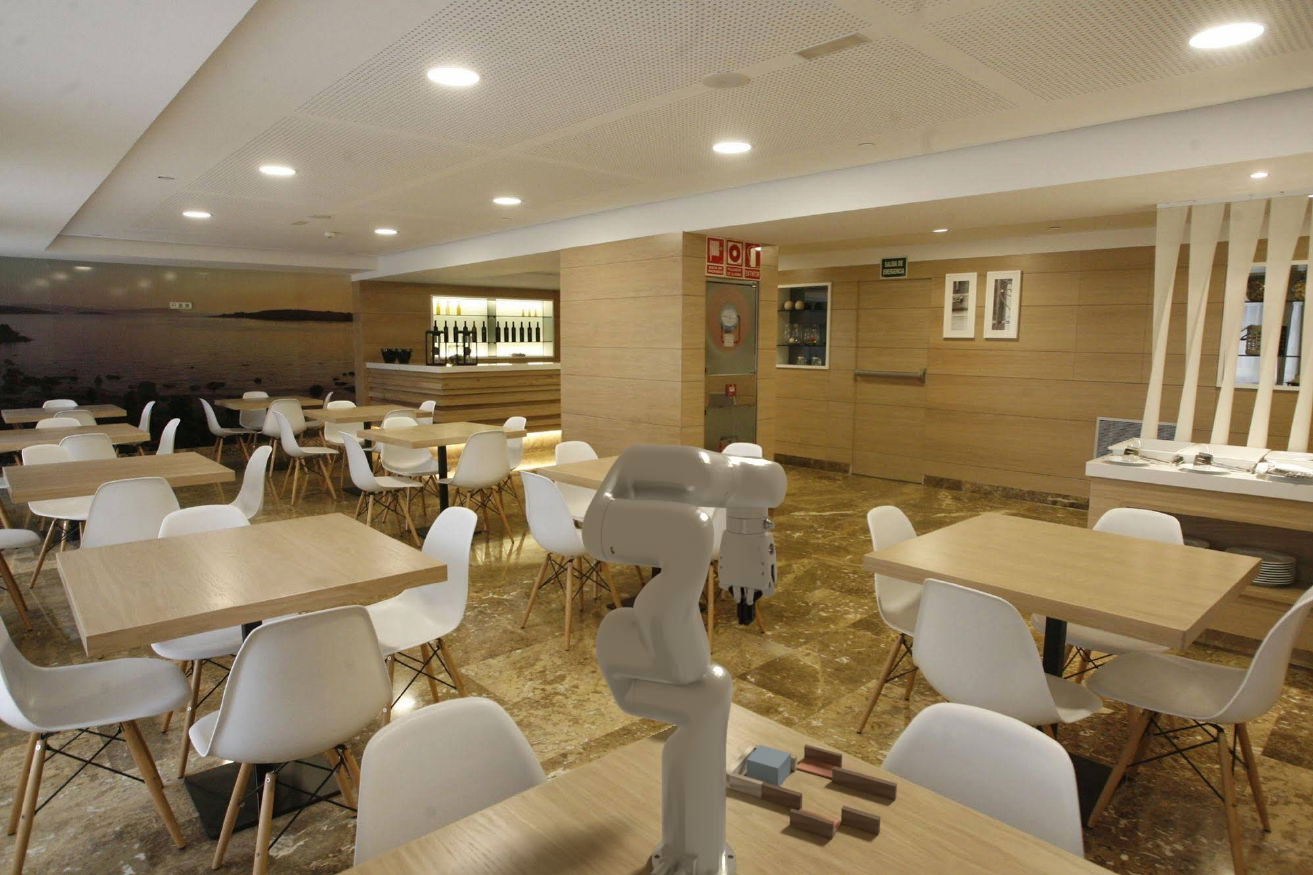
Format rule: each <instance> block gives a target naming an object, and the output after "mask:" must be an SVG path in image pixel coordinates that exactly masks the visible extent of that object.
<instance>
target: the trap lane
mask: <svg viewBox="0 0 1313 875" xmlns="http://www.w3.org/2000/svg"><path fill="white" fill-rule="evenodd" d="M759 746H760V745H759V744H754V743H751V744H750V745H749V746H748V747H747V748H746V749H745V751H744V752H743V753H742V754H740V756H739V757H738V758H737V759H736V760H735V761H734V762H733V764H732V765H730V766H729V768H728V769H726V789H731V790H733V791H737V792H740V793H744V794H747V795H750V796H752V797H756V798H759V799H763V800H766V801H769V802H772V803H774V804H778V805H781V806H785V807H788V808H791V809H790V811H789V826H790V827H793V828H796V829H799V830H802V831H806V832H808V833H812V834H815V835H819V836H821V837H825V838H827V839H831V840H832V839H833V838H834V836H835V835H836V833H837V832H838V830H839V828H840V826H841V824H843V825H847V826H848V827H852V828H855V829H859V830H861V831H862V830H863V831H865V832H868V833H872V834H876V835H880V832H881V816H879V815H877V814H876V815H875V814H873V813H869V812H867V811H863V810H859V809H856V808H853V807H849V806H845V805H843V806H842V807H841V811H840V812H841V813H840V814H841V816H840V818H841V820H838V819H835V818H831V817H828V816H825V815H823V814H822V815H821V814H818V813H816V812H812V811H809V810H806V809H802V808H803V793H802V792H799V791H796V790H793V789H789V788H786V787H783V786H776V785H773V784H770V783H766V782H763V781H760V780H756V779H753V778H750V777H747V775H746V776H745V775H743V774H744V772H746V771H747V759H748V758H749V757H750V755H751V754H752V753H753V752H754V751H755V750H756V749H757V748H758V747H759ZM803 750H804V751H803V752H804V755H803V759H801V761H800V762H799V764H798V755H795V754H791V771H792V772H796V771H797V770H799V771H803V772H807V773H811V774H814V775H818V776H821V777H824V778H827V779H832V780H831V781H832V783H834V784H838V785H840V786H841V785H842V786H845V787H848V788H851V789H855V790H859V791H863V792H866V793H868V794H872V795H876V796H879V797H883V798H886V799H889V800H892V801H893V800H894V801H896V799H897V792H898V791H897V790H898V788H897V787H898V784H897V783H896V782H892V781H889V780H886V779H883V778H879V777H875V776H871V775H867V774H863V773H861V772H857V771H853V770H850V769H846V768H843V753H840V752H835V751H832V750H828V749H824V748H820V747H816V746H813V745H810V744H805V745H804V748H803Z"/></svg>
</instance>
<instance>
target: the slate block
mask: <svg viewBox="0 0 1313 875" xmlns="http://www.w3.org/2000/svg"><path fill="white" fill-rule="evenodd" d="M791 755H792V753H791V752H788V751H784V750H780V749H777V748H774V747H769V746H767V745H762V744H760V745H759V747H758V748H757V749H756V750H755V751H754V752H753V753H752V754H751V755H750V757H749V758H748V759H747V769H746V777H750V778H753V779H756V780H760V781H763V782H766V783H770V784H773V785H776V786H780V787H782V784H783V783H784V782H785V781H786V780H787V778H788V777H789V776H790V775H791V771H792V770H791Z"/></svg>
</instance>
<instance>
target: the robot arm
mask: <svg viewBox="0 0 1313 875" xmlns="http://www.w3.org/2000/svg"><path fill="white" fill-rule="evenodd" d="M787 490H788V479H787V474H786V472H785V469H784V468H783V467H782V465H781V464H780V463H779V462H775V461H772V460H766V459H765V458H764V457H761V456H754V455H736V454H730V453H724V452H723V453H722V452H717V451H713V450H708V449H705V448H702V447H698V446H692V445H676V444H675V445H672V444H650V443H649V444H647V443H638V444H637V443H636V444H632V445H631V446H629V447H627V448H626V449H625V450H623V452H621V454H619V456H618V457H617V458H616V460H615V461H614V462H613V464H612V465H611V466H610V468H609V470H608V472H607V473H606V475H605V476H604V479H603V481H602V482H601V484H600V486H599V487H598V489H597V490H596V492H595V494H594V496H593V498H592V499H591V501H590V503H589V505H588V506H587V508H586V511H585V514H584V517H583V520H582V525H581V541H582V545H583V547H584V549H585V551H586V552H587V553H588V555H589V556H590V557H591V558H594V559H596V560H597V561H601V562H605V563H612V564H623V565H632V566H640V567H652V568H660V569H661V570H660V573H658V574H656V575H655V576H654V577H653V578H652V579H650V580H649V581H648V583H646V584H645V585H644V587H643V588H642V589H641V590H640V592H639V593H638V595H637V596H636V598H635V600H634V602H633V607H629V606H627V607H624V606H623V607H618V608H615V609H613V610H611V611H610V612H608V613H607V614H606V615H605V616H604V617H603V618H602V620H601V622H600V625H599V627H598V629H597V633H596V640H595V642H596V644H595V652H596V660H597V664H598V667H599V669H600V672H601V674H602V676H603V679H604V681H605V683H606V685H607V687H608V690H609V691H610V693H611V696H612V698H613V700H614V701H615V704H616V705H617V707H618V709H620V710H621V711H622V712H623V713H625V714H626V715H629V716H633V717H637V718H641V719H648V720H654V721H657V722H664V723H666V724H672V725H675V726H676V727H677V728H676V729H675V730H674V732H672V733H671V734H670V735H669V737H668V738H667V740H666V741H665V743H664V745H663V748H662V752H661V840H660V841H659V842H658V843H657V844H656V845H655V846H654V848H653V851H652V855H651V867H652V871H651V872H650V874H649V875H734V874H735V871H736V868H737V856H736V853H735V851H734V849H733V848H732V846H731V845H730V844H729V843H728V842H727V839H726V838H727V835H726V833H727V787H726V771H727V741H728V740H727V737H728V728H729V719H730V713H731V706H732V701H733V696H734V695H733V693H734V683H733V678H732V675H731V674H730V672H729V670H728V669H727V668H725V667H724V666H723V665H721V664H720V663H718V662H715V661H712V660H711V658H712V657H711V656H712V654H711V644H710V641H709V638H708V633H707V631H706V627H705V623H704V621H703V618H702V613H701V611H700V610H701V609H700V605H699V603H700V602H699V601H700V598H701V595H702V592H703V590H704V587H705V585H706V584H705V583H706V581H707V578H708V573H709V569H710V567H711V566H710V565H711V560H712V555H713V550H714V542H715V529H714V524H713V521H712V518H711V516H710V515H709V514H708V513H707V512H706V511H705V510H703V509H702V508H713V509H714V508H715V509H717V508H718V509H720V508H721V509H725V513H726V514H725V529H724V530H723V531H722V535H721V540H720V545H719V552H718V564H717V576H718V580H719V581H718V582H719V583H718V587H719V588H720V589H722V590H725V591H726V592H727V591H728V592H729V593H730V595H731V596H732V597H733V599H734V602H735V603H736V618H737V619H738V625H741V626H742V625H744V626H745V627H748V626H750V625H751V624H752V623H754V621H755V619H756V617H757V616H756V613H757V611H756V609H757V608H756V605H757V604H756V602H757V601H759V600H760V599H761V598H764V597H772V596H773V595H774V594H776V589H775V584H776V583H777V582H778V581H777V580H778V565H777V554H776V552H777V551H776V544H775V539H774V535H773V532H770V529H772V530H775V527H776V522H775V521H773V520H771V519H770V516H769V511H768V510H769V508H772V509H775V508H778V507H779V506H780V505H781V504H782V503H783V502H784V500H785V497H786V494H787ZM746 590H747V591H746Z"/></svg>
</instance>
